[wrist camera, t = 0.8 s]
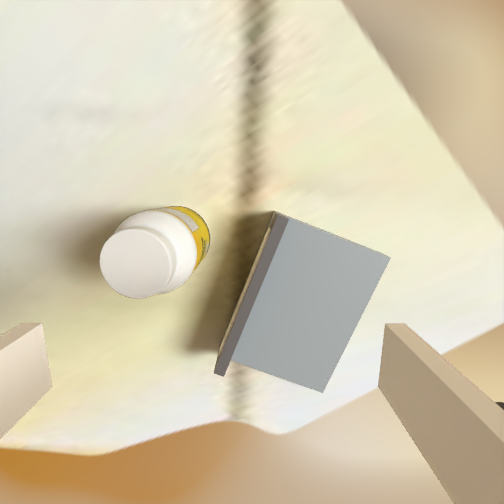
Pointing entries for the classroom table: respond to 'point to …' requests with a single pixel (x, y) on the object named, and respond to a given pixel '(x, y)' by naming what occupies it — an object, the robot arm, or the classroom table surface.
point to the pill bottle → (154, 251)
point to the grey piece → (300, 303)
